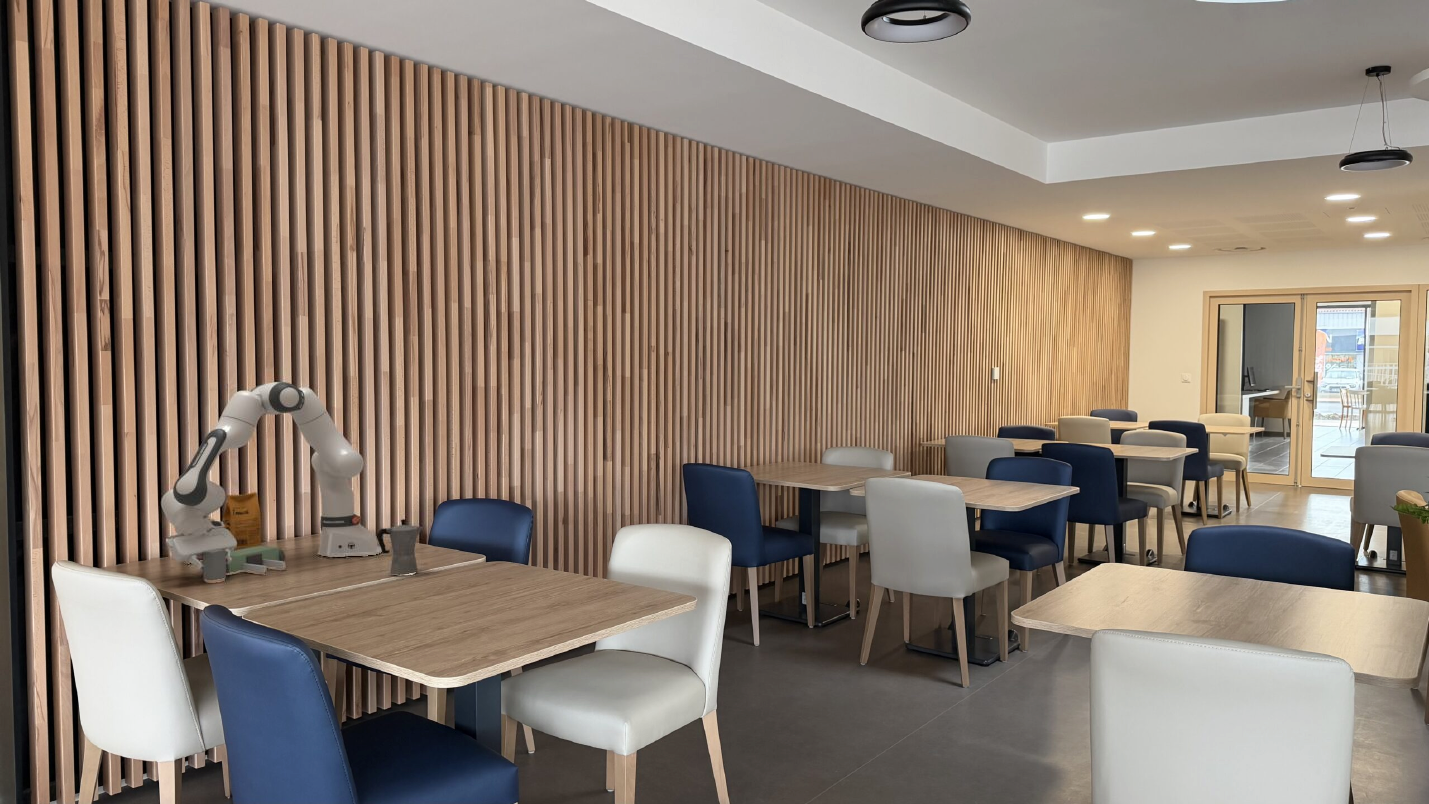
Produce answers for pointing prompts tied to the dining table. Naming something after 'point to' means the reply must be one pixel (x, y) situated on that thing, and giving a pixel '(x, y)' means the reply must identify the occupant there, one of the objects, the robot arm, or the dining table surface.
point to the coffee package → (243, 520)
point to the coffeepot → (401, 547)
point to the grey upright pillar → (214, 564)
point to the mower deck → (256, 559)
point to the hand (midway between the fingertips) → (215, 564)
